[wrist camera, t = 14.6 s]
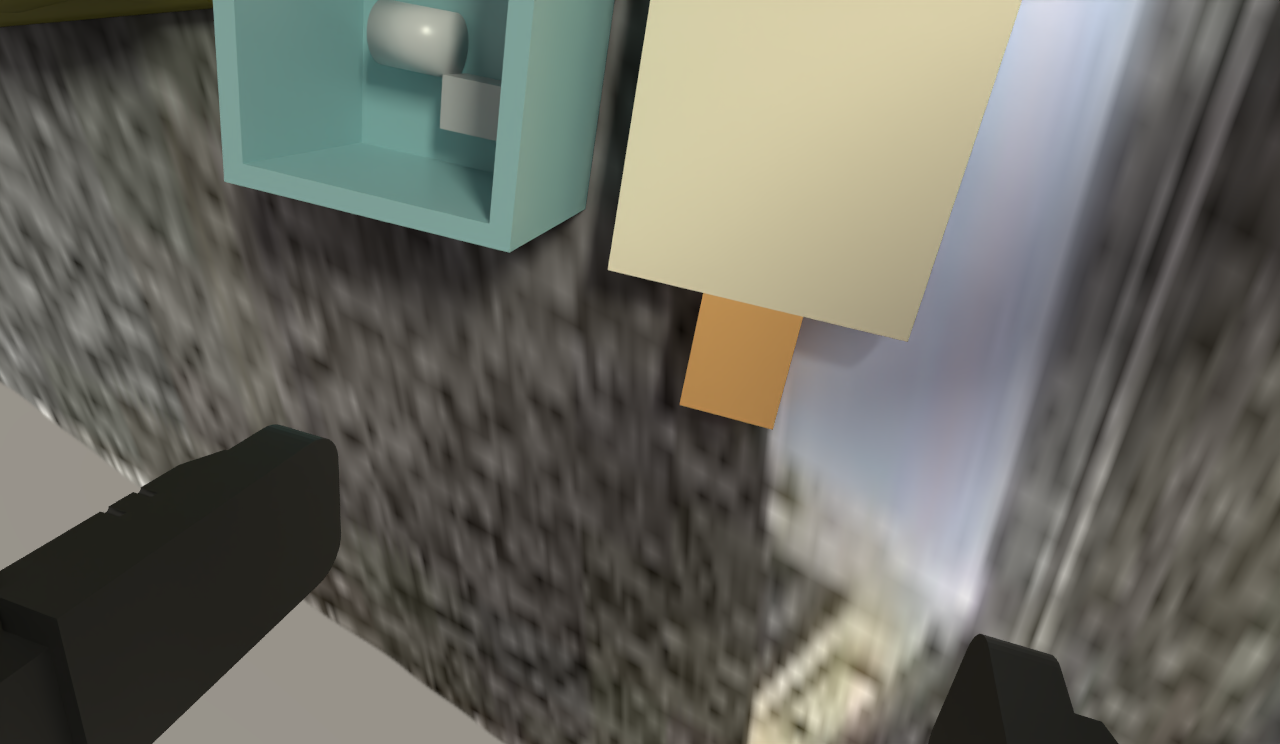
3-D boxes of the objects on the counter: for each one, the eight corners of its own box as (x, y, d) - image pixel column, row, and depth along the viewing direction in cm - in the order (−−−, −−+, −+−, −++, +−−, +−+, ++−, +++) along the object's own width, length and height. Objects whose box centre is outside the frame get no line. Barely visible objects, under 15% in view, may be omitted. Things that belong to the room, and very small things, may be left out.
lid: (1060, -157, 24) (1082, -180, 22) (868, 430, 33) (869, 455, 31) (699, -203, 26) (686, -229, 24) (606, 362, 35) (590, 381, 33)
